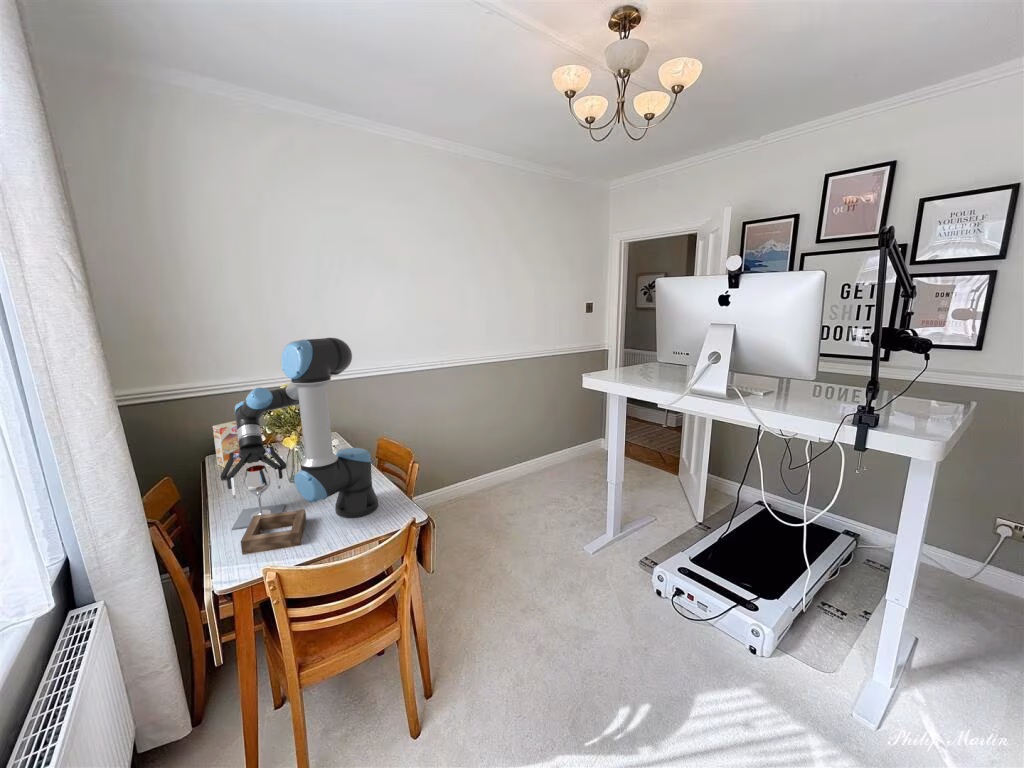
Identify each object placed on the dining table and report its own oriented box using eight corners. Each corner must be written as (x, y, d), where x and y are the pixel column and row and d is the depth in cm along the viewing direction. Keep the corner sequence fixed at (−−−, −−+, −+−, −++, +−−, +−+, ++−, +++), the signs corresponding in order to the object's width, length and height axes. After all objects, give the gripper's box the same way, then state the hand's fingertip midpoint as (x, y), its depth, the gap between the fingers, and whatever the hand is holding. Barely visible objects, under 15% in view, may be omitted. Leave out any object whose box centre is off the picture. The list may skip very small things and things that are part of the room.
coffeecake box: (224, 468, 192) (219, 428, 188) (217, 465, 196) (211, 425, 192) (257, 458, 205) (253, 420, 201) (250, 455, 208) (245, 418, 204)
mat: (285, 505, 159) (285, 503, 159) (278, 523, 146) (278, 521, 146) (243, 510, 154) (242, 509, 154) (232, 530, 141) (231, 528, 141)
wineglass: (278, 509, 154) (273, 463, 150) (266, 520, 146) (261, 473, 142) (256, 509, 154) (250, 463, 150) (242, 520, 146) (236, 473, 142)
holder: (306, 520, 148) (305, 508, 147) (299, 545, 133) (298, 532, 132) (254, 528, 143) (253, 516, 142) (242, 554, 128) (240, 541, 127)
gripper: (287, 438, 165) (296, 487, 156) (210, 450, 151) (215, 505, 142) (288, 428, 159) (297, 479, 150) (208, 440, 146) (212, 496, 136)
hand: (257, 491), depth 146 cm, fingers open, 13 cm apart
